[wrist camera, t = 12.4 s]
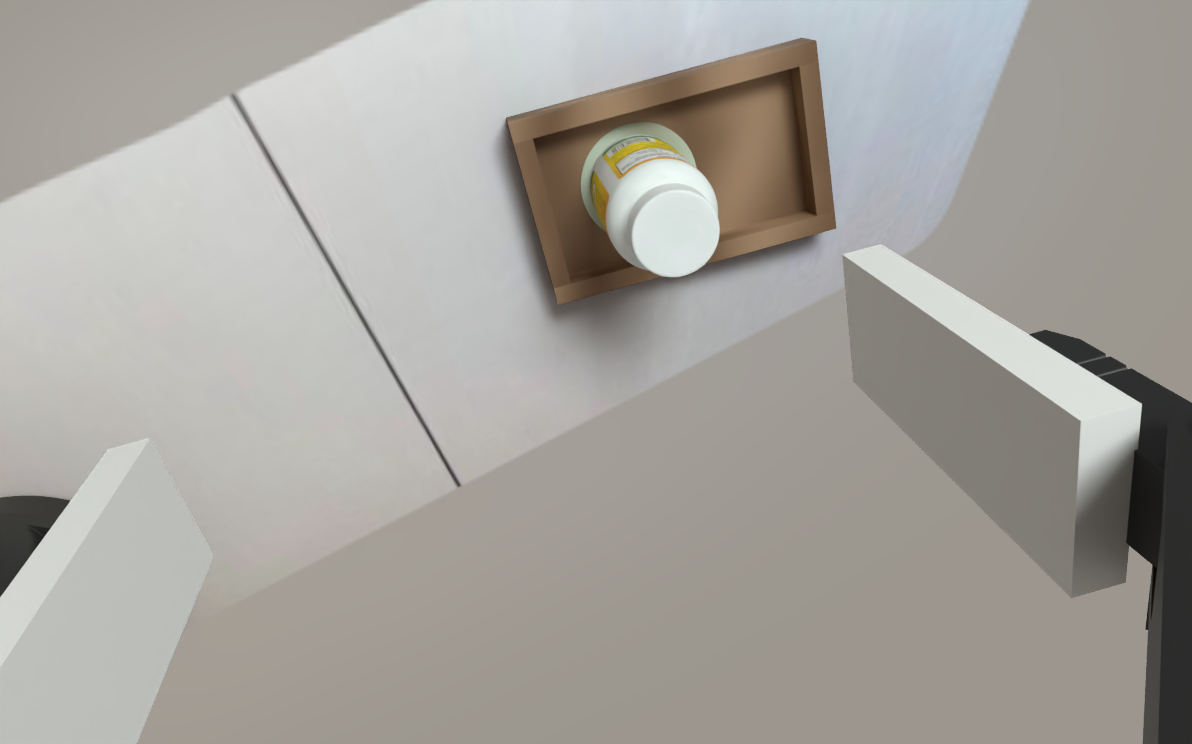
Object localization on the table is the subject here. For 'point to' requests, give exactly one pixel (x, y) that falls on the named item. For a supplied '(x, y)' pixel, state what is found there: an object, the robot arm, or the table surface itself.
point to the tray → (702, 136)
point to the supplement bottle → (655, 206)
